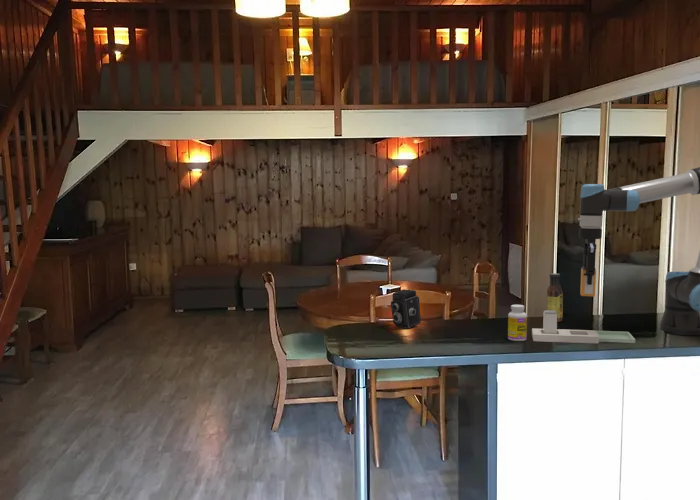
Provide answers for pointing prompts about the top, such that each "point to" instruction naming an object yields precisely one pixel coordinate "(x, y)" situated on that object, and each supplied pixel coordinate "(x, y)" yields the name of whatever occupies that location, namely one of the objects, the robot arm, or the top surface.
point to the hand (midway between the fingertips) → (587, 292)
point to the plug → (582, 287)
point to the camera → (405, 309)
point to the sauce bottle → (555, 296)
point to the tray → (615, 336)
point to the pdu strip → (566, 336)
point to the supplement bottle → (517, 323)
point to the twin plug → (549, 322)
